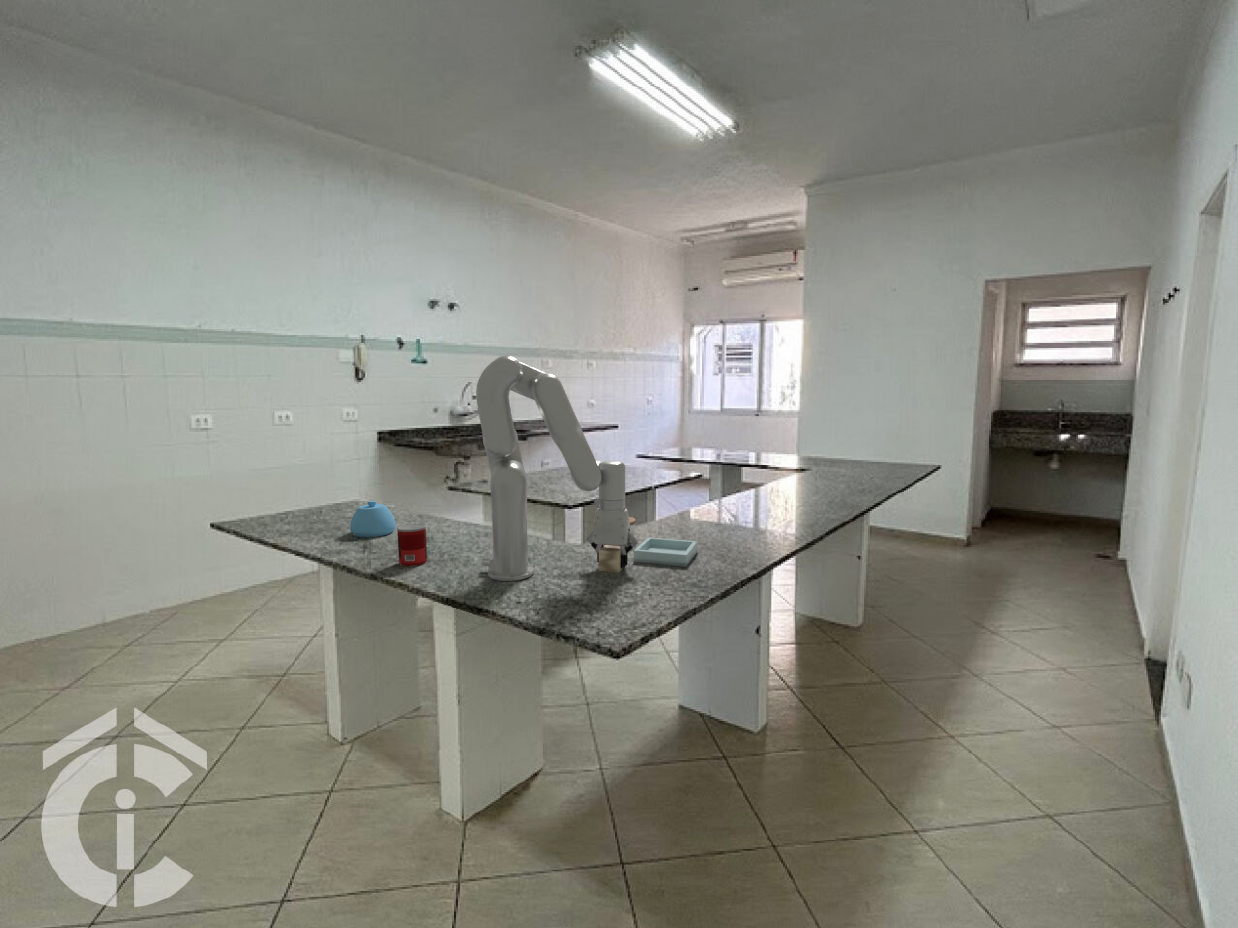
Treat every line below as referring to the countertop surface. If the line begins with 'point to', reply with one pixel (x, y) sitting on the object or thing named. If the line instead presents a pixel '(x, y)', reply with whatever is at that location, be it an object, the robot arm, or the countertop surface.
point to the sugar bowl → (372, 520)
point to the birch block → (610, 558)
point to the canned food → (412, 544)
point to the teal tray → (665, 551)
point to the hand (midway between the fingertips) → (612, 565)
